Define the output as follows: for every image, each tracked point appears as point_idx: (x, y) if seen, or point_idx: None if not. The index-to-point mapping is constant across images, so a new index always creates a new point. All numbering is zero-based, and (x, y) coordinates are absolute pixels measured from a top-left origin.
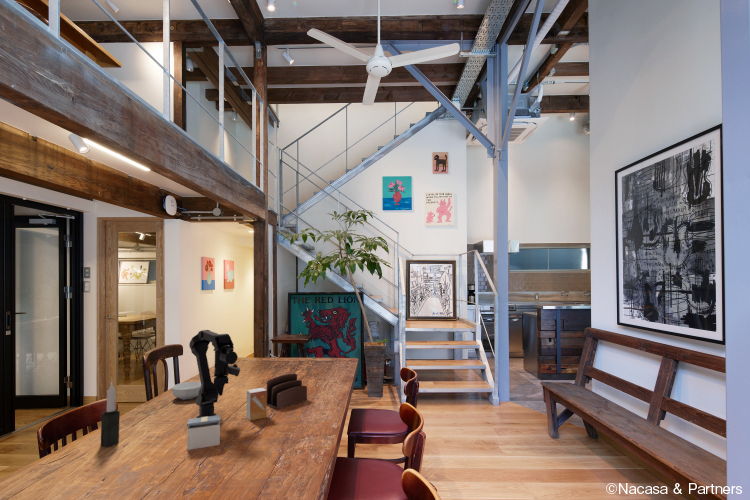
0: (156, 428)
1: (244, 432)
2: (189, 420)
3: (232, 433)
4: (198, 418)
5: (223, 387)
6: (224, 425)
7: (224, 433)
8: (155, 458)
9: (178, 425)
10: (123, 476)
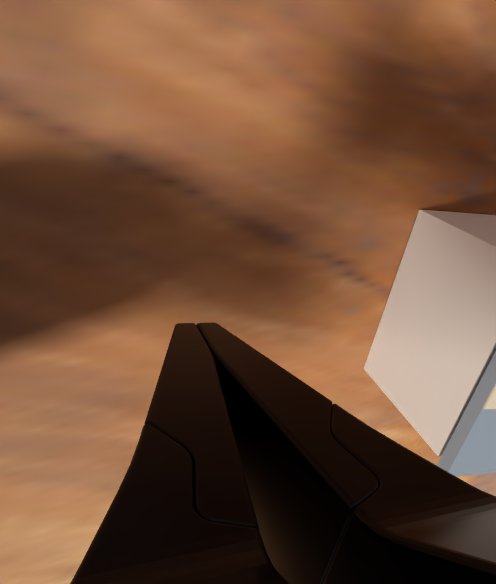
0: (34, 556)
1: (464, 4)
2: (491, 466)
3: (414, 111)
4: (493, 424)
5: (365, 432)
6: (197, 148)
7: (374, 170)
8: (432, 450)
9: (24, 468)
10: (484, 489)
